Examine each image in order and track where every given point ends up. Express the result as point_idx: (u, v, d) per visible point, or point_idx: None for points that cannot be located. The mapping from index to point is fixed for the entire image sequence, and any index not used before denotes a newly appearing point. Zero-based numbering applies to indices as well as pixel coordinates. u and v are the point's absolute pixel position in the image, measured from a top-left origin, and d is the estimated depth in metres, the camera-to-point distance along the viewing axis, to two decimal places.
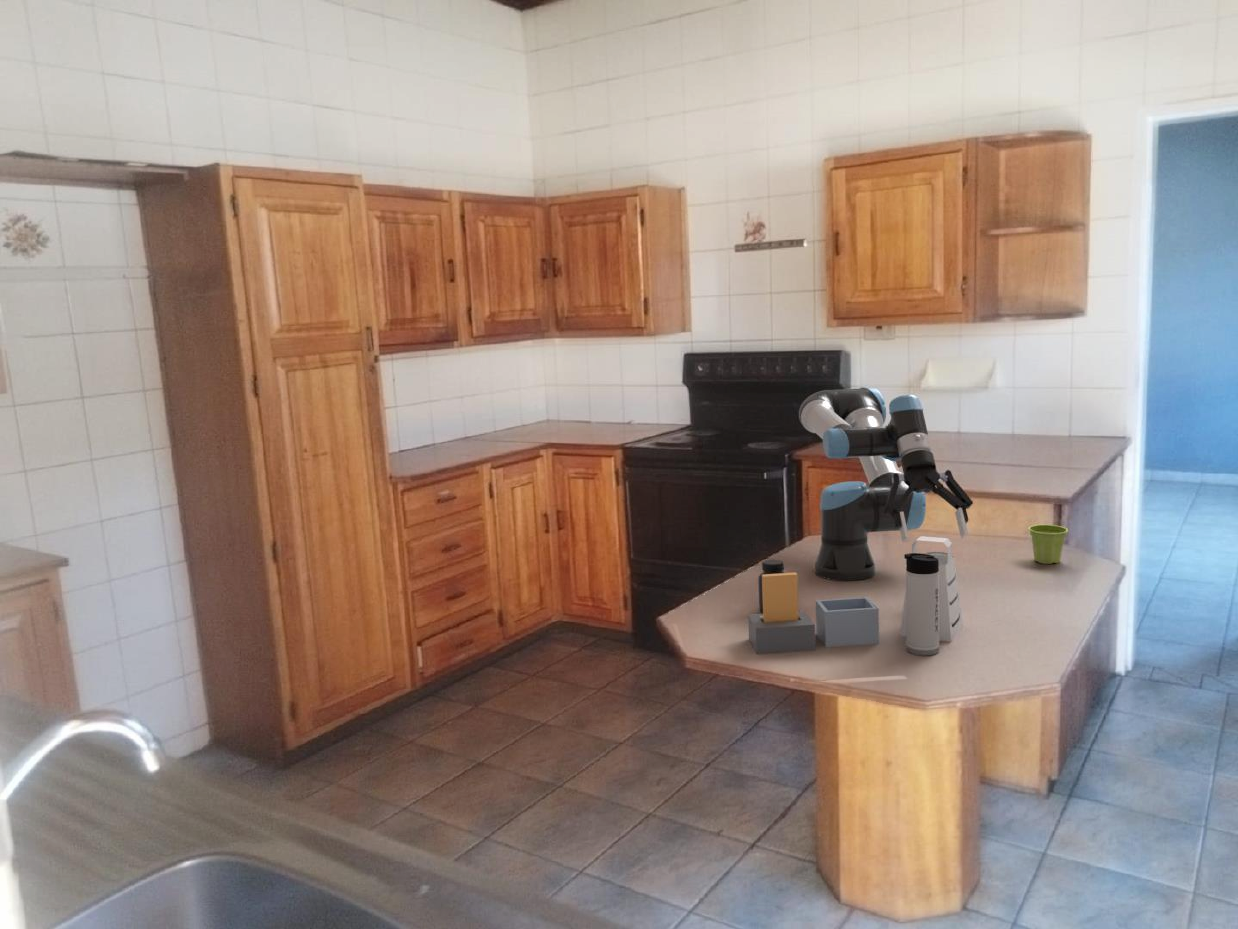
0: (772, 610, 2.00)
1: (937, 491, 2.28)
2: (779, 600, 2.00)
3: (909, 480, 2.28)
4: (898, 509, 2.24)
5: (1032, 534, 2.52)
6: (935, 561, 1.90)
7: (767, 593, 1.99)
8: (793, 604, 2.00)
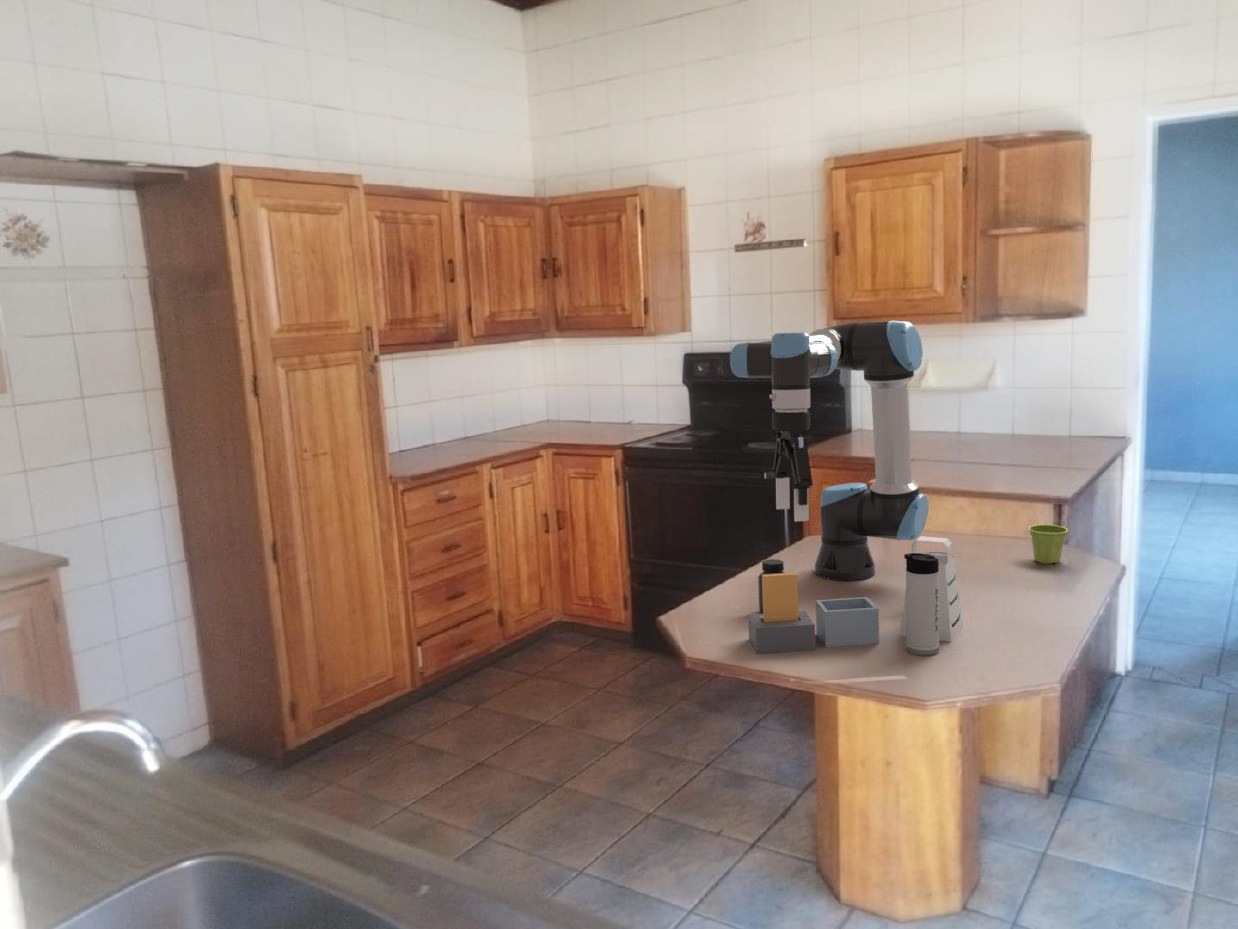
0: (772, 610, 2.00)
1: None
2: (779, 600, 2.00)
3: None
4: (775, 475, 2.04)
5: (1032, 534, 2.52)
6: (935, 561, 1.90)
7: (767, 593, 1.99)
8: (793, 604, 2.00)
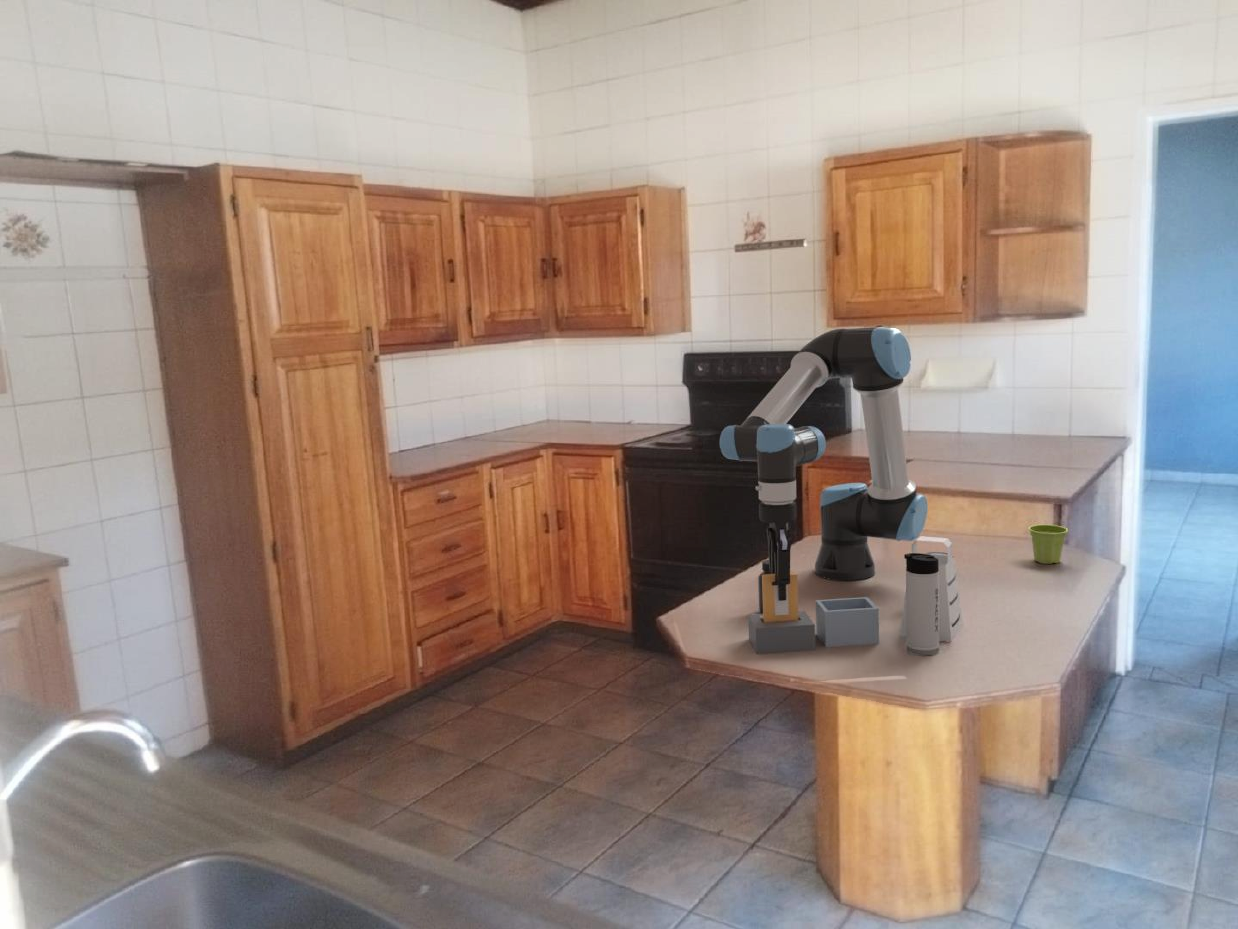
0: (772, 610, 2.00)
1: None
2: None
3: None
4: None
5: (1032, 534, 2.52)
6: (935, 561, 1.90)
7: (767, 593, 1.99)
8: (793, 604, 2.00)
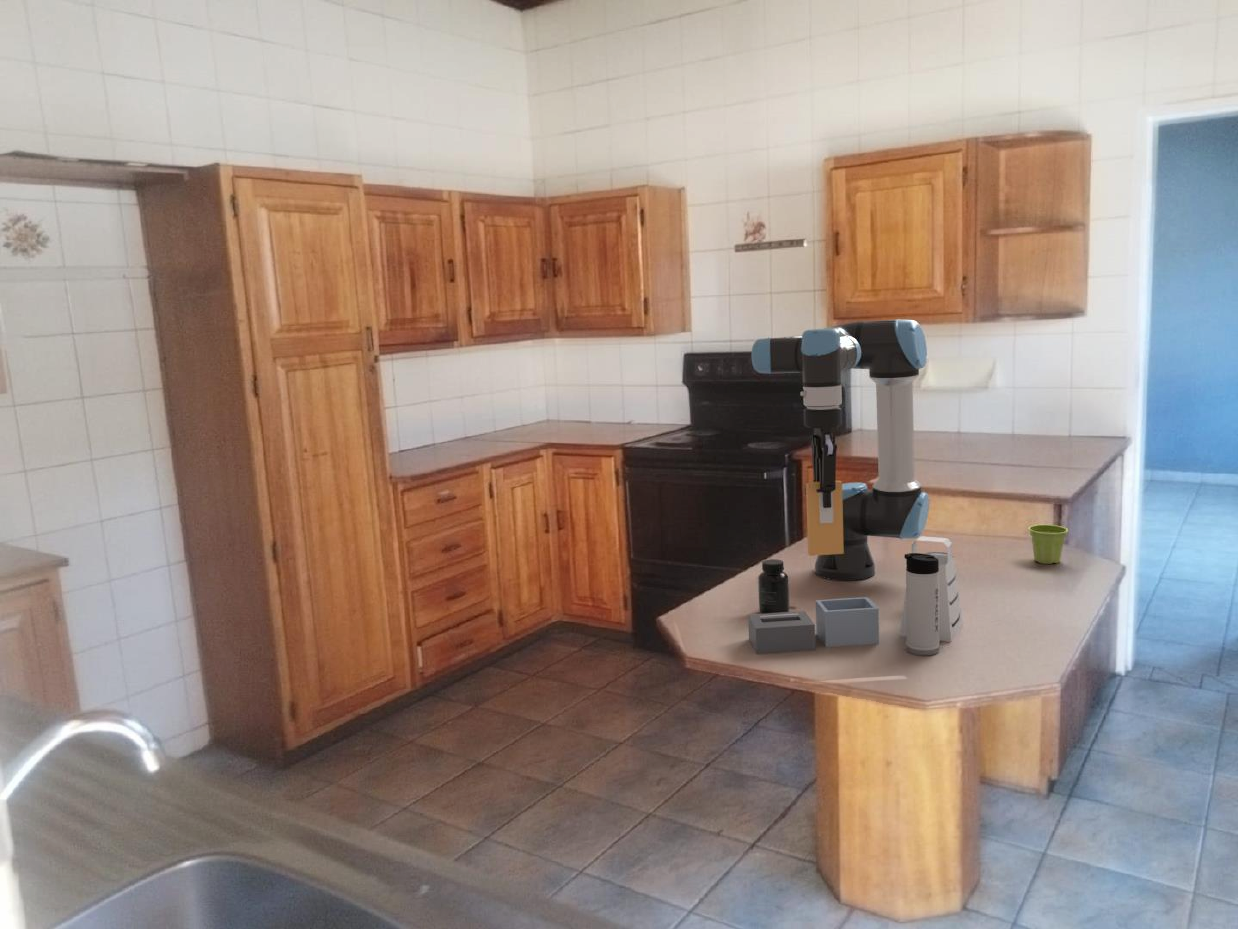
0: (816, 519, 1.98)
1: None
2: None
3: None
4: None
5: (1032, 534, 2.52)
6: (935, 561, 1.90)
7: (811, 501, 1.97)
8: (837, 512, 1.98)
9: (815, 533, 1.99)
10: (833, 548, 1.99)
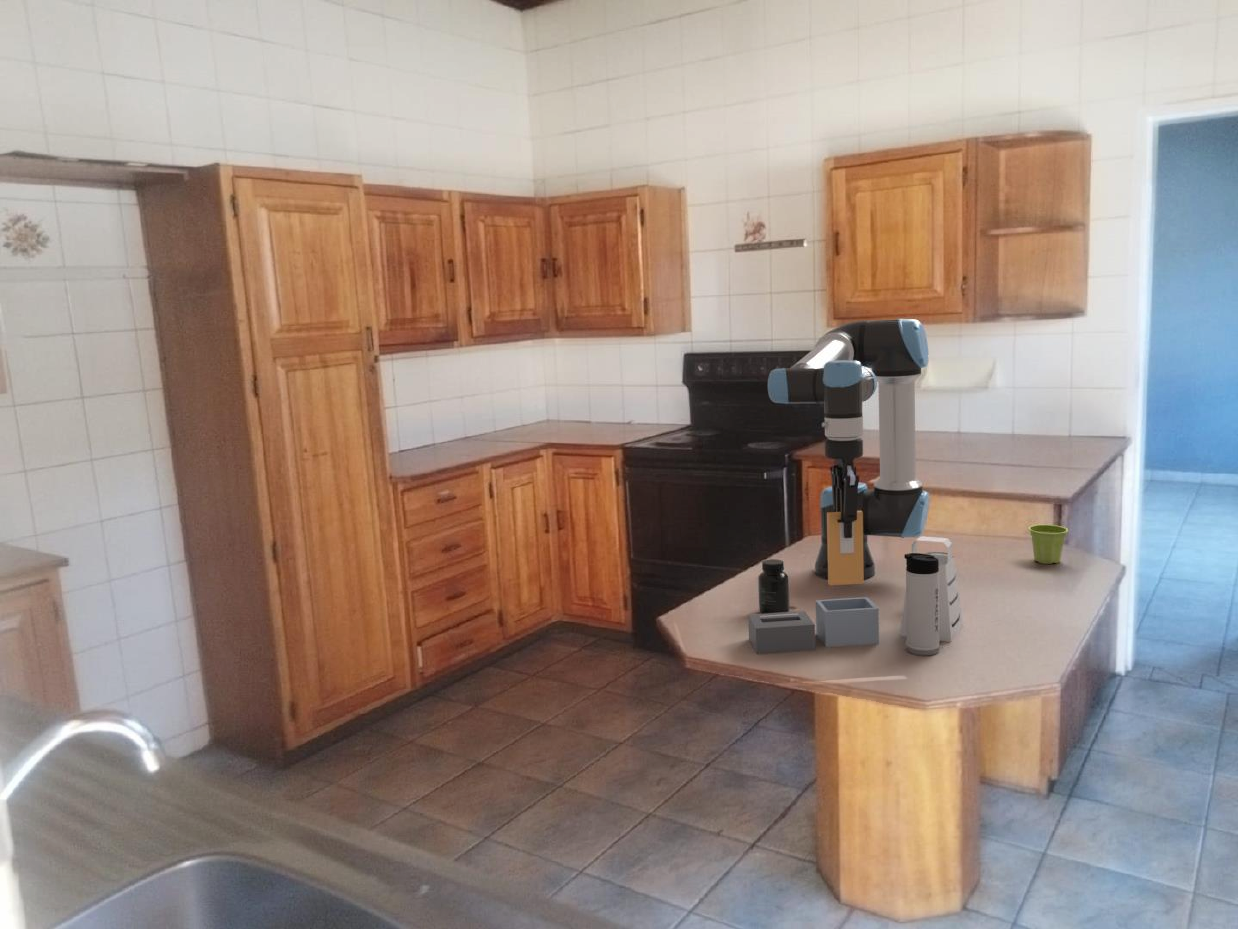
0: (837, 548, 1.99)
1: None
2: None
3: None
4: None
5: (1032, 534, 2.52)
6: (935, 561, 1.90)
7: (832, 531, 1.99)
8: (858, 542, 1.99)
9: (836, 563, 2.00)
10: (853, 578, 2.00)
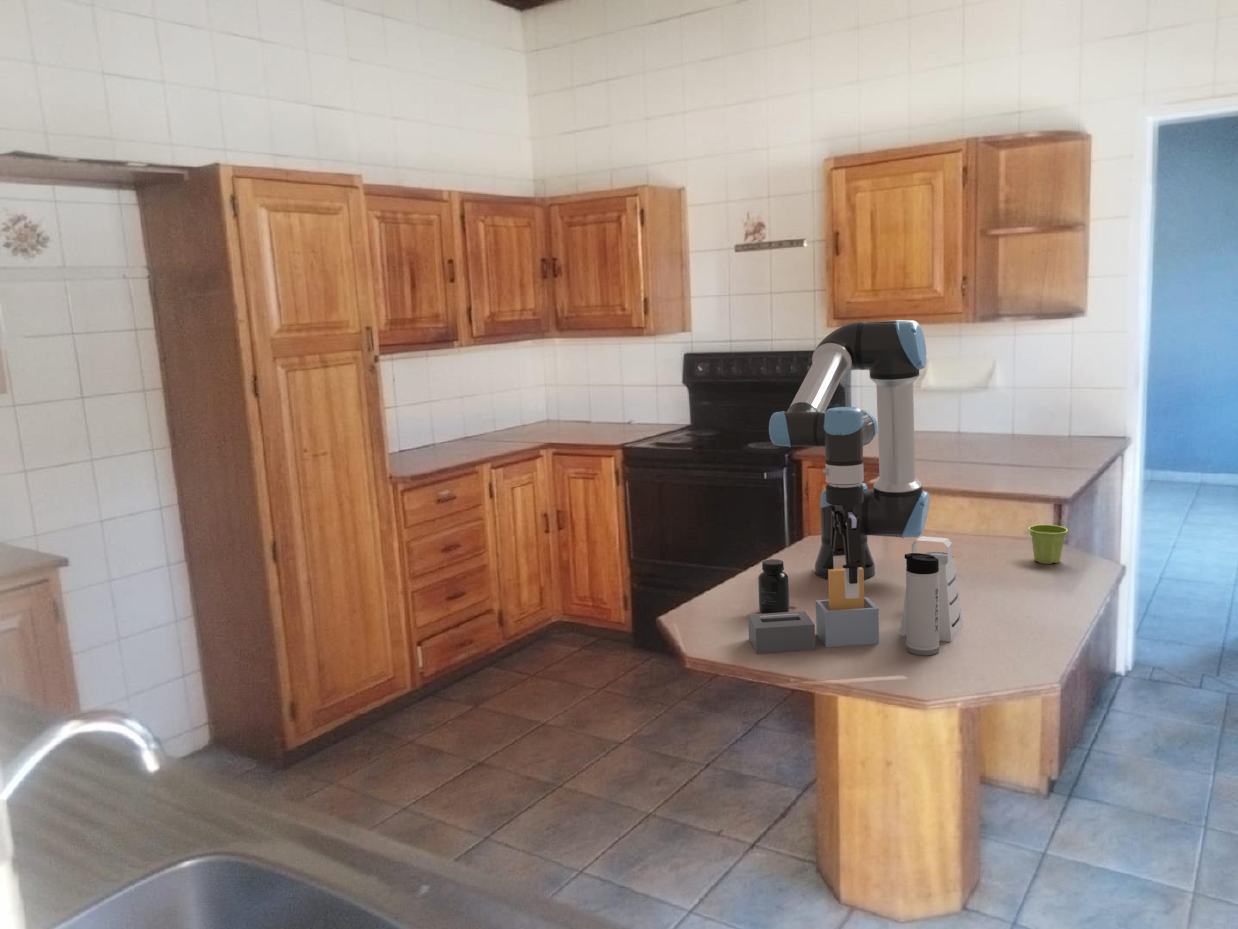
0: (838, 605, 2.01)
1: None
2: None
3: None
4: (833, 552, 2.05)
5: (1032, 534, 2.52)
6: (935, 561, 1.90)
7: (834, 588, 2.01)
8: (859, 599, 2.01)
9: None
10: None
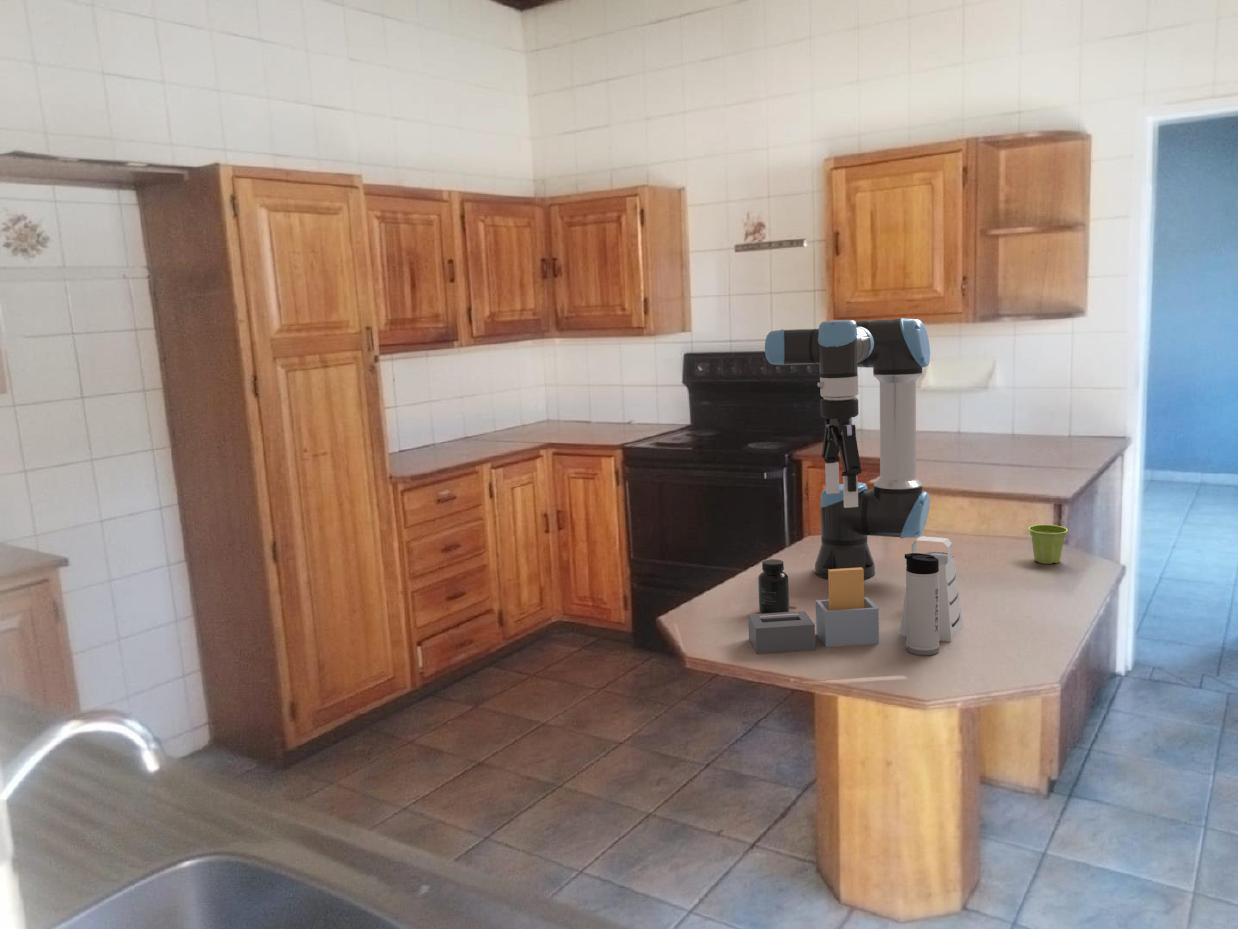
0: (838, 605, 2.01)
1: None
2: (845, 595, 2.01)
3: None
4: (825, 460, 2.07)
5: (1032, 534, 2.52)
6: (935, 561, 1.90)
7: (834, 588, 2.01)
8: (859, 599, 2.01)
9: None
10: None
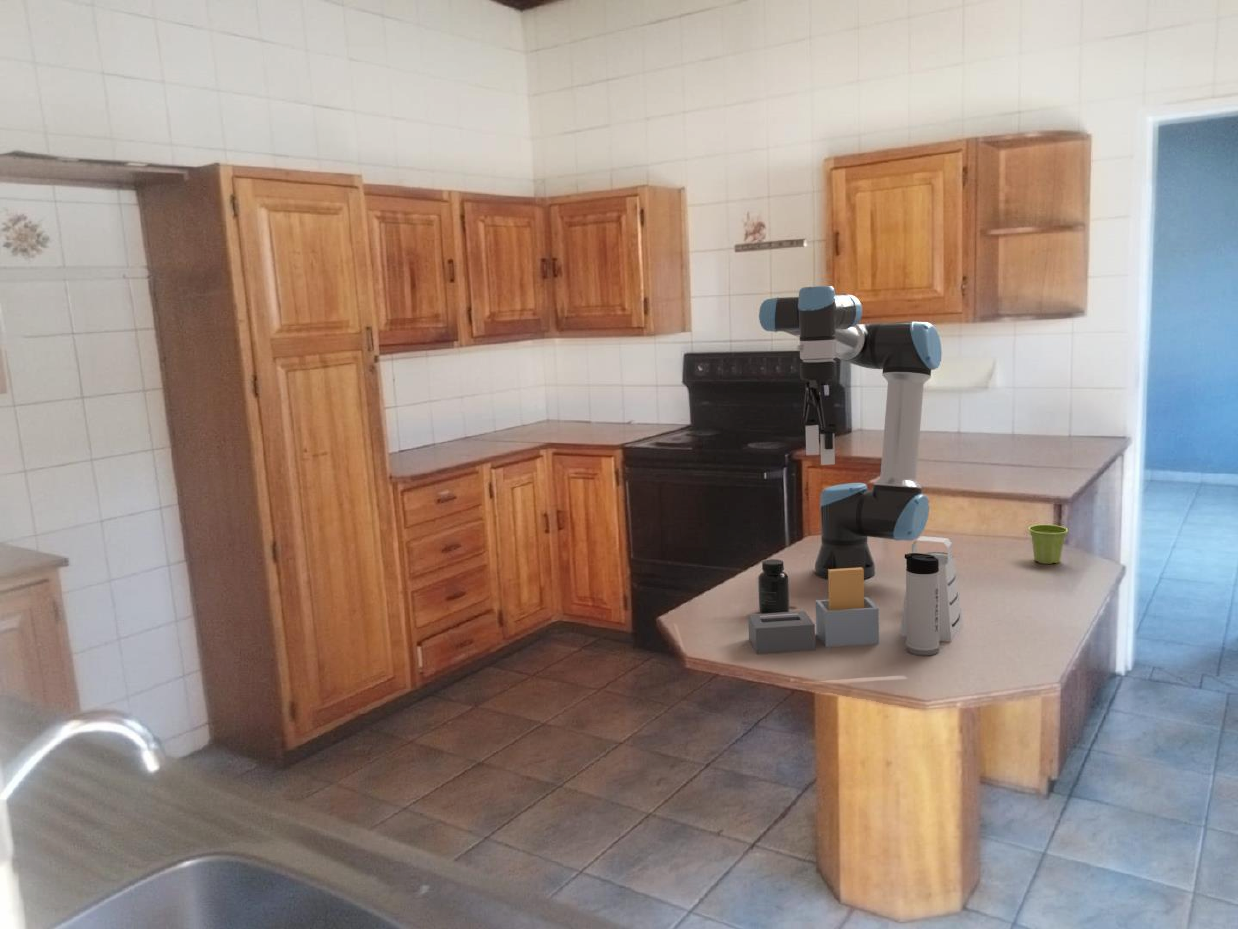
0: (838, 605, 2.01)
1: None
2: (845, 595, 2.01)
3: None
4: (805, 422, 2.15)
5: (1032, 534, 2.52)
6: (935, 561, 1.90)
7: (834, 588, 2.01)
8: (859, 599, 2.01)
9: None
10: None
